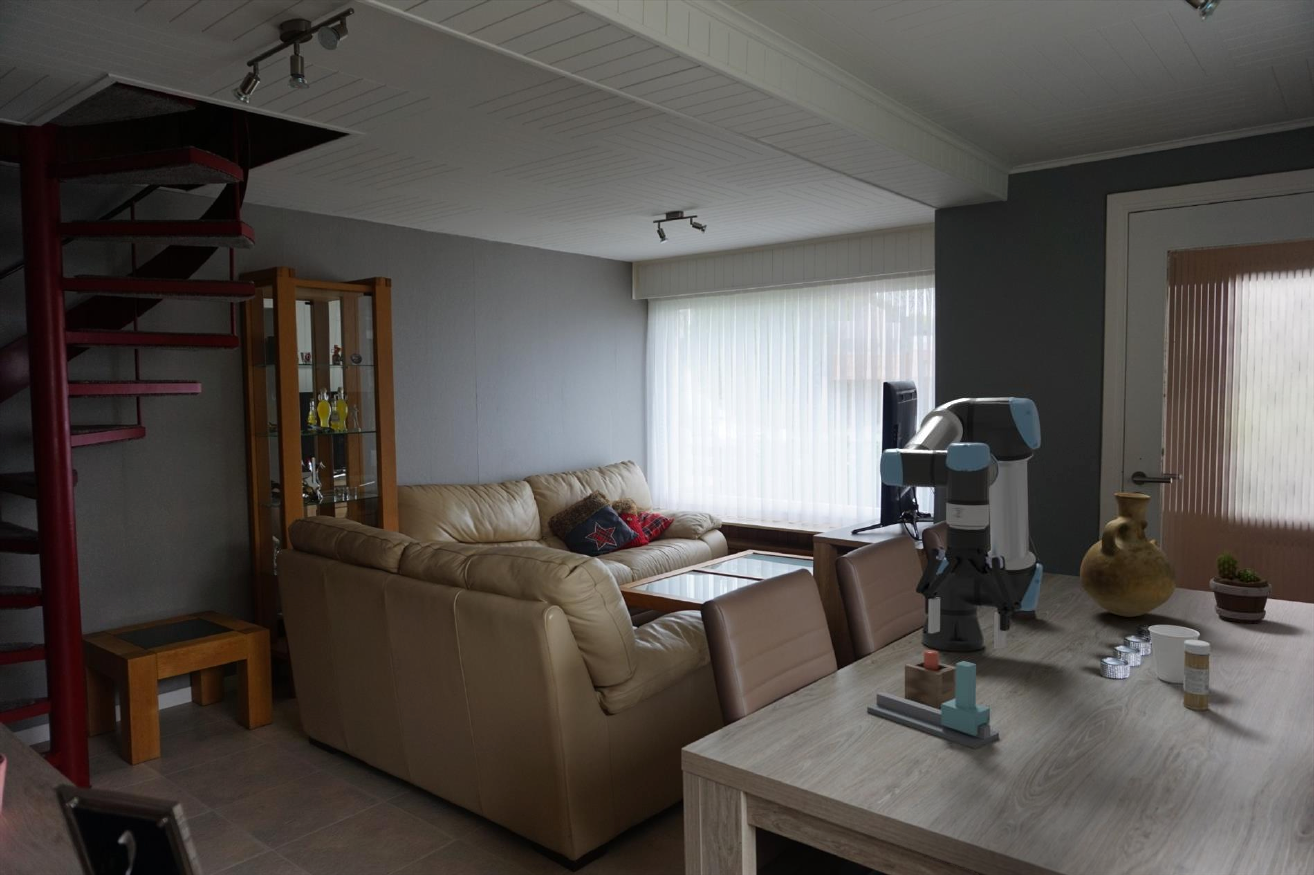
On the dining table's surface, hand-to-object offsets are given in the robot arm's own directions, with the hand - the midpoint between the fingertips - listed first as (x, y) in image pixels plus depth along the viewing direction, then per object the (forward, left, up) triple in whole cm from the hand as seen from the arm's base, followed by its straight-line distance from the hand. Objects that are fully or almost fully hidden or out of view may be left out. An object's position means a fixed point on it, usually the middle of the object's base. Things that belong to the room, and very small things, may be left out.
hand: (965, 639), depth 162 cm
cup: (+11, +64, -19) cm, 68 cm away
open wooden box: (-16, +12, -18) cm, 27 cm away
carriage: (0, 0, -17) cm, 17 cm away
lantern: (-41, +91, -19) cm, 102 cm away
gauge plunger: (-16, +12, -13) cm, 24 cm away
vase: (-20, +113, -19) cm, 116 cm away
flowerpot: (+2, +133, -19) cm, 135 cm away
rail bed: (-8, 0, -18) cm, 20 cm away
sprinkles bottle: (+21, +49, -19) cm, 57 cm away
